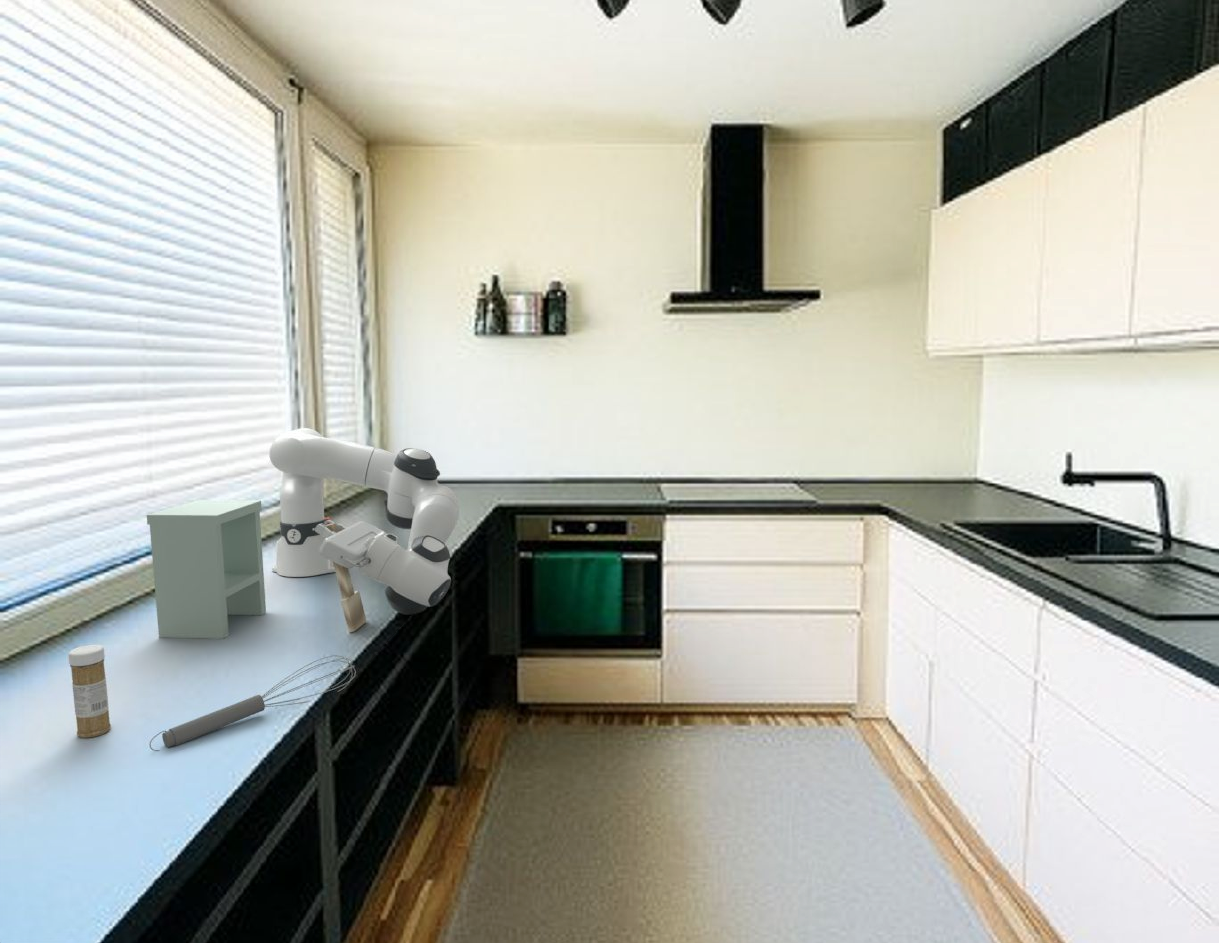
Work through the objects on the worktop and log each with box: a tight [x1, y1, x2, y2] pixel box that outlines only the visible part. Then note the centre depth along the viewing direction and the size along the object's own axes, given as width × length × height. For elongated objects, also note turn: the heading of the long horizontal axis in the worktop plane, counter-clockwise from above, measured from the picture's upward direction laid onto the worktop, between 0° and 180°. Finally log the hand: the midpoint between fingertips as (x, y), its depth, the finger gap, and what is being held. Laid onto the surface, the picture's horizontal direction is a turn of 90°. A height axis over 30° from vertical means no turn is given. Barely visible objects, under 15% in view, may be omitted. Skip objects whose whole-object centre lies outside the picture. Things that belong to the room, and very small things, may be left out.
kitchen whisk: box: [149, 654, 357, 752], centre depth 131 cm, size 6×34×6 cm, turn 140°
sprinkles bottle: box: [68, 644, 112, 739], centre depth 125 cm, size 5×5×13 cm
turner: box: [326, 522, 367, 633], centre depth 174 cm, size 23×7×2 cm
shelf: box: [146, 499, 267, 640], centre depth 176 cm, size 18×15×26 cm
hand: (321, 524), depth 173 cm, fingers closed on turner, 2 cm apart
